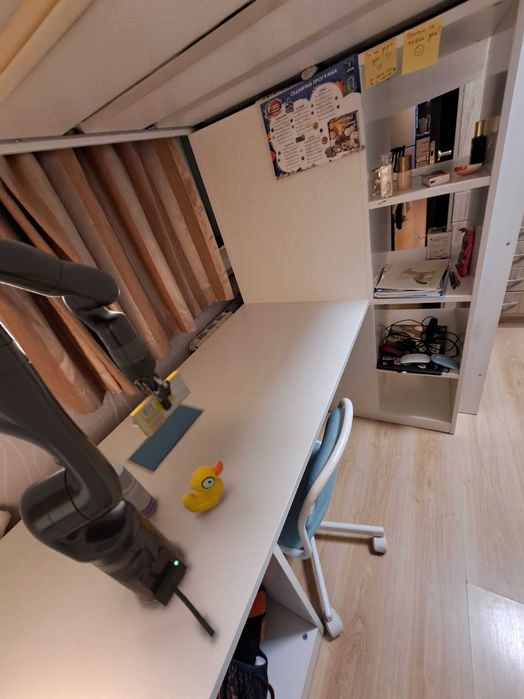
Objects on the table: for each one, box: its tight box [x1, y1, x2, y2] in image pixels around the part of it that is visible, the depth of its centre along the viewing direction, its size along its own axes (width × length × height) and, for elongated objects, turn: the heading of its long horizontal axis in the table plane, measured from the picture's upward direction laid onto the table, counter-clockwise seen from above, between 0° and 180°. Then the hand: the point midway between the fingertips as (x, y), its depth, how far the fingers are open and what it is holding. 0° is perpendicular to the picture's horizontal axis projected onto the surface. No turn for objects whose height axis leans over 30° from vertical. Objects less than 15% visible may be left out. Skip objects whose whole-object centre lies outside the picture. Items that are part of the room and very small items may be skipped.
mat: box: [128, 404, 203, 472], centre depth 88 cm, size 11×22×1 cm, turn 150°
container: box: [112, 462, 157, 518], centre depth 66 cm, size 5×5×15 cm
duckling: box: [182, 460, 225, 514], centre depth 64 cm, size 11×5×10 cm, turn 124°
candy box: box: [129, 370, 191, 438], centre depth 75 cm, size 16×2×8 cm, turn 150°
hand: (165, 407), depth 76 cm, fingers closed on candy box, 2 cm apart
